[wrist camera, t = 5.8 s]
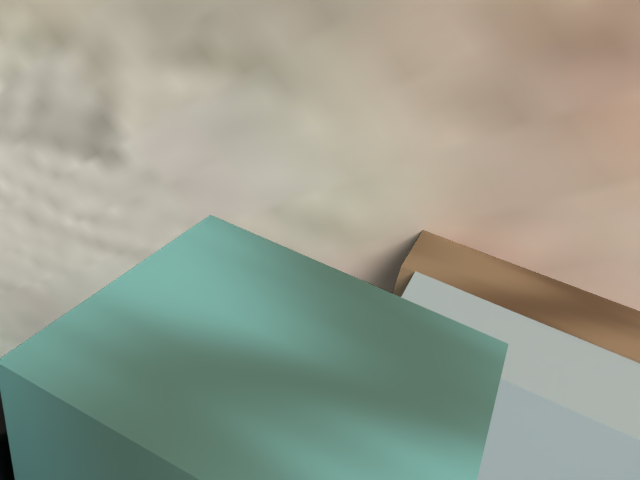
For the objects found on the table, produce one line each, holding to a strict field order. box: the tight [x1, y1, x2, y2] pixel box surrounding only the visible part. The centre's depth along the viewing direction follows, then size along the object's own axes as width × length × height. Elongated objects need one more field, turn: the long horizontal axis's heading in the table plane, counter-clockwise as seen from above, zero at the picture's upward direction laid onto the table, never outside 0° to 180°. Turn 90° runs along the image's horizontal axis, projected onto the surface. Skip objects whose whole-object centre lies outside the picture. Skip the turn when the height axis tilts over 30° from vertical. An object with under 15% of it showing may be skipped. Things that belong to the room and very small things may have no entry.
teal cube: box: [0, 215, 508, 480], centre depth 8 cm, size 5×5×4 cm
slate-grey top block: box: [401, 271, 640, 480], centre depth 16 cm, size 7×7×3 cm
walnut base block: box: [392, 230, 640, 363], centre depth 19 cm, size 8×8×3 cm
